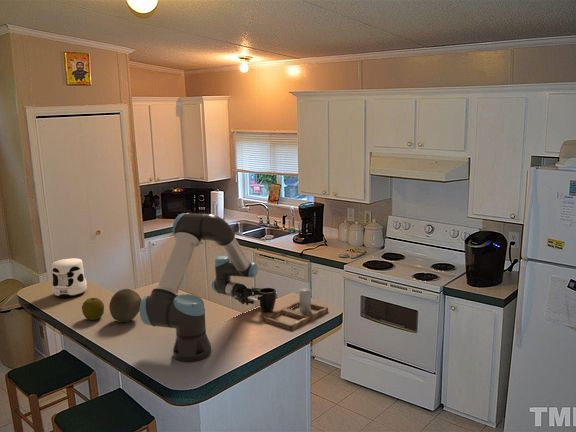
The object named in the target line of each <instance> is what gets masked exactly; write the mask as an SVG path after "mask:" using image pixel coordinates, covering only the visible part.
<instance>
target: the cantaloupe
mask: <svg viewBox="0 0 576 432" xmlns="http://www.w3.org/2000/svg"><path fill="white" fill-rule="evenodd" d="M141 300H142V298H141V295H140V294H139V293H137V292H136V291H135V290H133V289H130V288H123V289H120V290H118V291H117V292H116V293H114V294H113V295H112V297H111V299H110V301H109V306H108V307H109V308H108V309H109V312H110V315H111V317H112V318H113V320H115V321H117V322H119V323H127V322H129V321H132V320H134V318H136V317H137V315H138V314H140V303H141Z"/></svg>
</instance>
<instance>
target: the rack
mask: <svg viewBox="0 0 576 432" xmlns="http://www.w3.org/2000/svg"><path fill="white" fill-rule="evenodd" d="M297 305H299V300H297V301H295V302H293V303H291V304H289V305H287V306H285V307H283V308H280V309H278V310H275V311H273V312H272V313H269V314H267V315H265V316H263V317H262V322H263V323H268V324H270V323H271V325H273V324H274V326H276V325H277V327H279V326H280V328H282V327H283V329H286V330H289V331H294V330H295V329H297V328H299V327H301V326H303V325H305V324H307V323H309V322H311V321H313V320H315V319H316V318H318V317H321V316H323V315H324V314H326V313H328V312H329V307H327V306H322V305H319V304H315V303H312V302H311V307H312V308H311V309H313V308H314V310H316V309H317V311H315V312H314V313H312V314H305V313H302V312H300V311H298V310H295V309H294V308H293V307H295V306H297ZM291 308H293V309H291ZM295 308H296V307H295ZM281 313H284V314H287V315H286V316H288V315H290V316H289V317H291V316H293V317H292V318H294V317H296V318H295V319H298V318H299V319H298V320H296V321H295V322H294V323H292V324H289V323H286V322H284V321H281V320H276V319H274V318H276V317H278V316H280V315H282V314H281ZM279 314H280V315H279ZM284 314H283V315H284ZM277 315H278V316H277ZM275 316H276V317H275ZM273 317H274V318H273ZM271 318H272V319H271Z"/></svg>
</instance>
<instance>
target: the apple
mask: <svg viewBox="0 0 576 432" xmlns="http://www.w3.org/2000/svg"><path fill="white" fill-rule="evenodd" d="M81 311H82V315H83V316H84V317H85V319H87V320H91V321H97V320H98V319H100V318H101V317H102V316H103V314H104V312H105V304H104V303H103V301H102V300H101V299H99V298H98V297H90V298H86V300H84V302H83V303H82V306H81Z"/></svg>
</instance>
